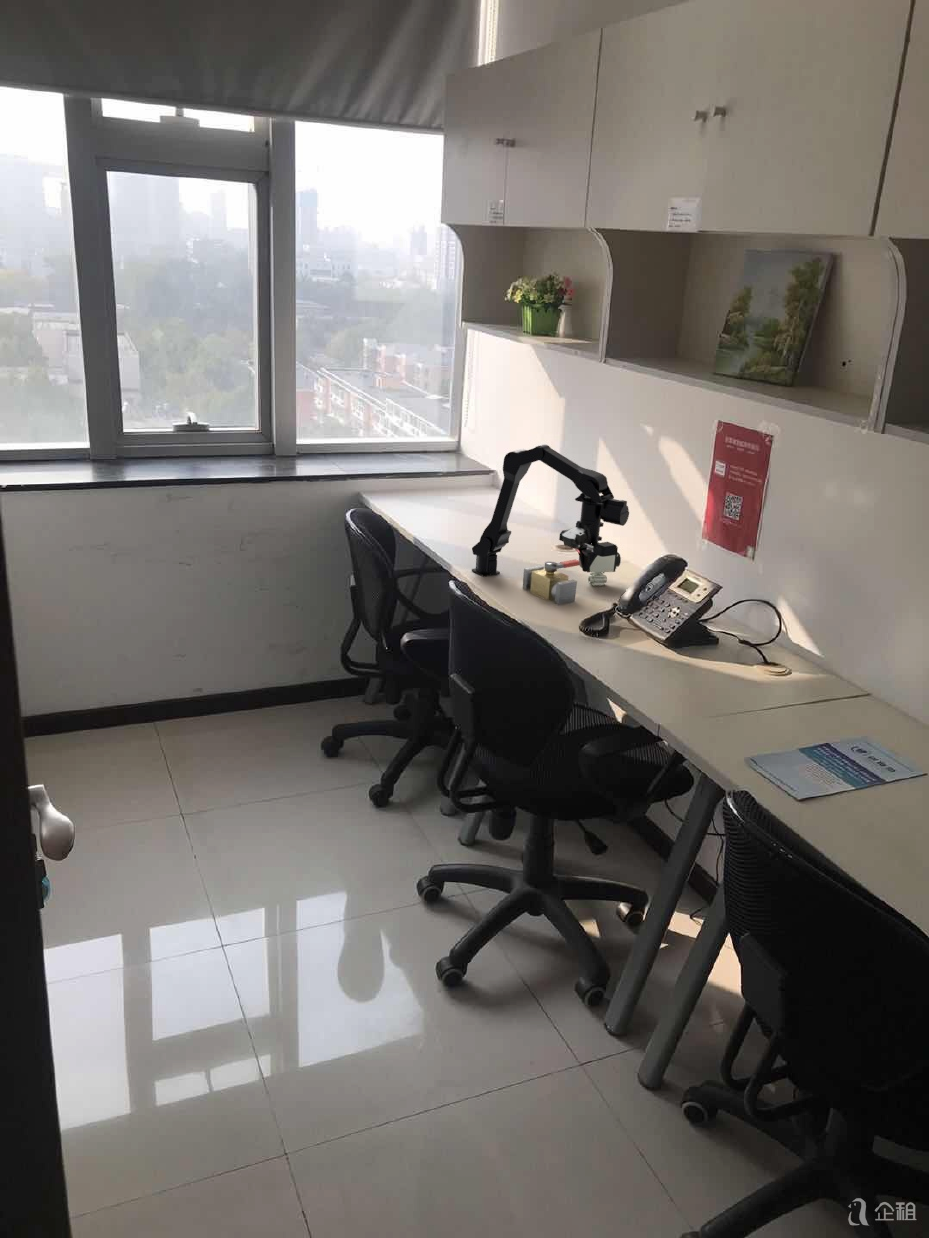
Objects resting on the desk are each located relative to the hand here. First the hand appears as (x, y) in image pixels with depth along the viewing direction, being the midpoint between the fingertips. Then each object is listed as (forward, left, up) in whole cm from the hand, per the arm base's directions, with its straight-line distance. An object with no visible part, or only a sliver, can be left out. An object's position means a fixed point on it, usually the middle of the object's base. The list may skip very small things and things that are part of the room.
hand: (584, 571), depth 281 cm
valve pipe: (-6, -7, -8) cm, 13 cm away
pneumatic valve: (-7, +13, -8) cm, 17 cm away
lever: (-6, -3, 0) cm, 7 cm away
